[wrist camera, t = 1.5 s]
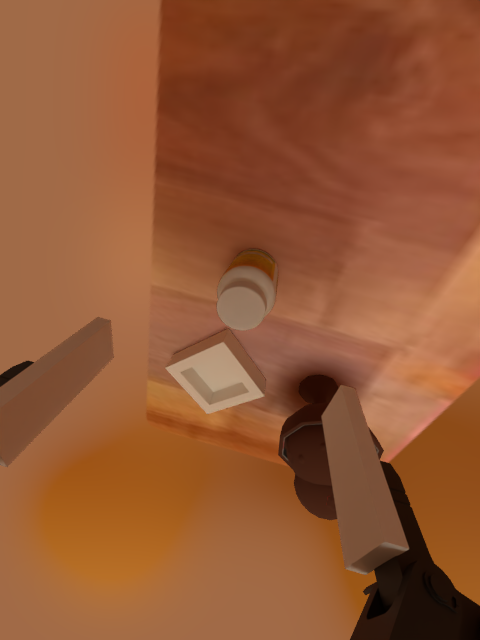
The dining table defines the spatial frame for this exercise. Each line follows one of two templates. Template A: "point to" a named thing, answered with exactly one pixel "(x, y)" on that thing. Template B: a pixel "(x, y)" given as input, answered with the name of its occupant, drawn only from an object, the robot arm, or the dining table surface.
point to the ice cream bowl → (312, 447)
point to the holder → (217, 373)
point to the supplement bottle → (247, 290)
